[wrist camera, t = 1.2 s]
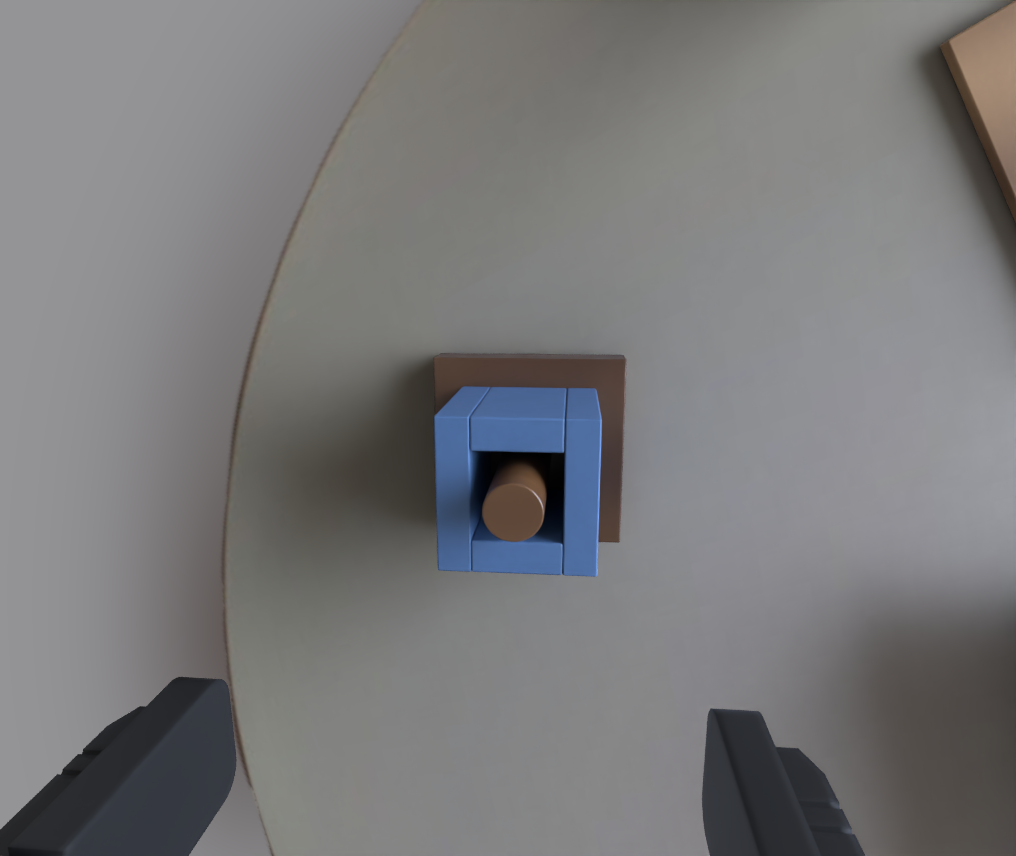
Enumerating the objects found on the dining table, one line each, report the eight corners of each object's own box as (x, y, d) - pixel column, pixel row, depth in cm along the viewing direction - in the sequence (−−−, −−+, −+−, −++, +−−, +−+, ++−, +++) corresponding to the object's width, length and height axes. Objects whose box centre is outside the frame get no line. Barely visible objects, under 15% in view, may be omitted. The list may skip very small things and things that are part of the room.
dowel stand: (440, 352, 30) (384, 387, 21) (624, 355, 29) (645, 391, 20) (444, 524, 32) (394, 621, 23) (617, 530, 31) (634, 633, 22)
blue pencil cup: (462, 386, 28) (433, 416, 23) (596, 388, 28) (601, 419, 22) (464, 511, 30) (437, 570, 24) (592, 516, 29) (597, 577, 23)
